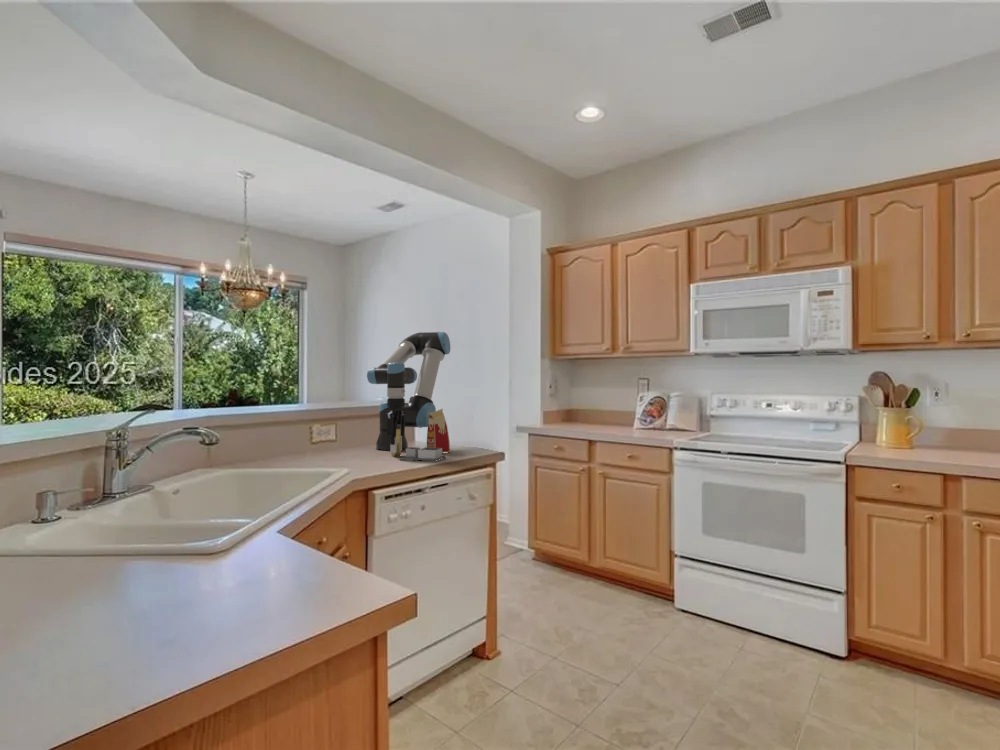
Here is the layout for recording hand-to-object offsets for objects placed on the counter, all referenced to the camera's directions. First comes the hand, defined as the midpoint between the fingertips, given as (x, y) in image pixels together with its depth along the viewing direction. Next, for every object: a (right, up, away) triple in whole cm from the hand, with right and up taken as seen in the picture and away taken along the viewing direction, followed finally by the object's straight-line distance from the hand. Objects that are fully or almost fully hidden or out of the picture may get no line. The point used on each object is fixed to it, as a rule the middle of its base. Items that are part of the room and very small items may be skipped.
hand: (396, 451), depth 225 cm
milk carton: (+17, -2, +11) cm, 20 cm away
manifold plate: (+13, -2, -9) cm, 16 cm away
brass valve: (0, -2, 0) cm, 2 cm away
